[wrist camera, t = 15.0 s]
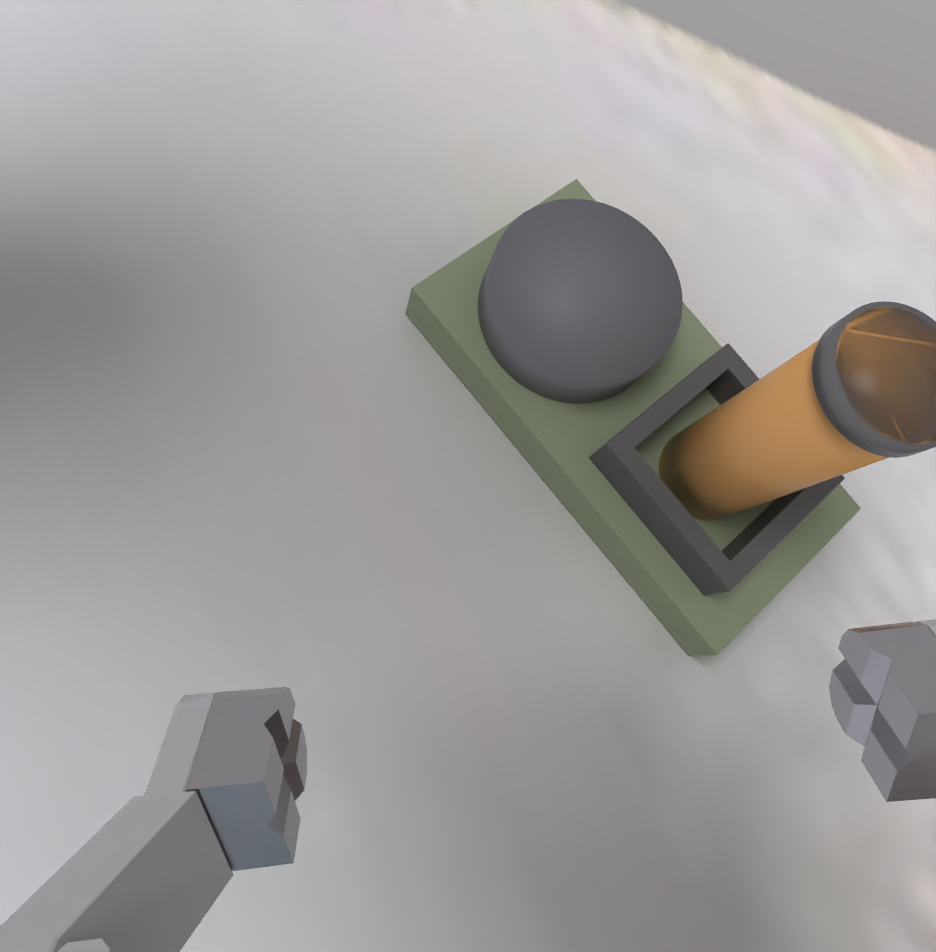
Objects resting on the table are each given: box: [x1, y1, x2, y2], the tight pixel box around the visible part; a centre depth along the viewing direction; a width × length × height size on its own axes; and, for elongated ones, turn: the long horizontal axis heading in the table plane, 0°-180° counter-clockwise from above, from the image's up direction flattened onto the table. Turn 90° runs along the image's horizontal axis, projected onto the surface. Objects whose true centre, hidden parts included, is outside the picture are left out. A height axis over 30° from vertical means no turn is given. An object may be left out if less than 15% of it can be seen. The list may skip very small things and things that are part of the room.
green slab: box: [406, 179, 861, 655], centre depth 39 cm, size 24×12×6 cm, turn 40°
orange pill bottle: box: [659, 302, 936, 521], centre depth 32 cm, size 5×5×14 cm
